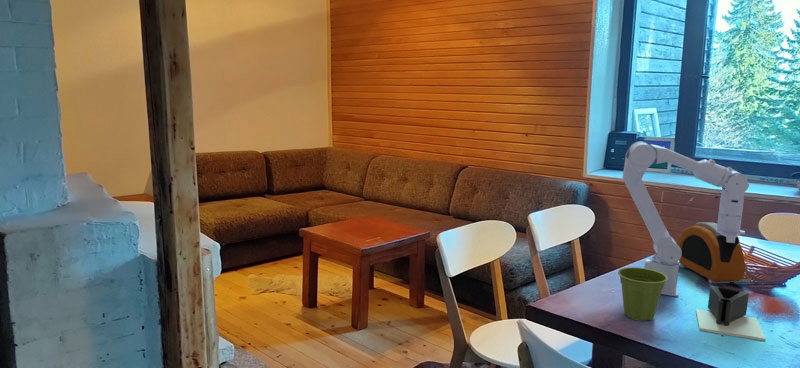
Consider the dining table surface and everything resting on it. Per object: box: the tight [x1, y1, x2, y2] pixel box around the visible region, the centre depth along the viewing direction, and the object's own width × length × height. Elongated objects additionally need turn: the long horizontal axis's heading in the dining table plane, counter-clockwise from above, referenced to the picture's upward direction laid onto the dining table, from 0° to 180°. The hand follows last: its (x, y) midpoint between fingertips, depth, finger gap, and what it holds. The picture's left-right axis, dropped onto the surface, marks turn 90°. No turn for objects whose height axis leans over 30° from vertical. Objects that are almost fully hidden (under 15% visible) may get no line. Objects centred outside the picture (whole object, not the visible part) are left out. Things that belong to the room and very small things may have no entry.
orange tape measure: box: [675, 221, 746, 284], centre depth 190 cm, size 23×9×17 cm, turn 6°
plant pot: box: [617, 266, 668, 322], centre depth 154 cm, size 12×12×11 cm
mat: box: [695, 308, 766, 342], centre depth 151 cm, size 14×14×1 cm
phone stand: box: [707, 285, 750, 326], centre depth 154 cm, size 9×6×12 cm
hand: (724, 261), depth 169 cm, fingers closed
